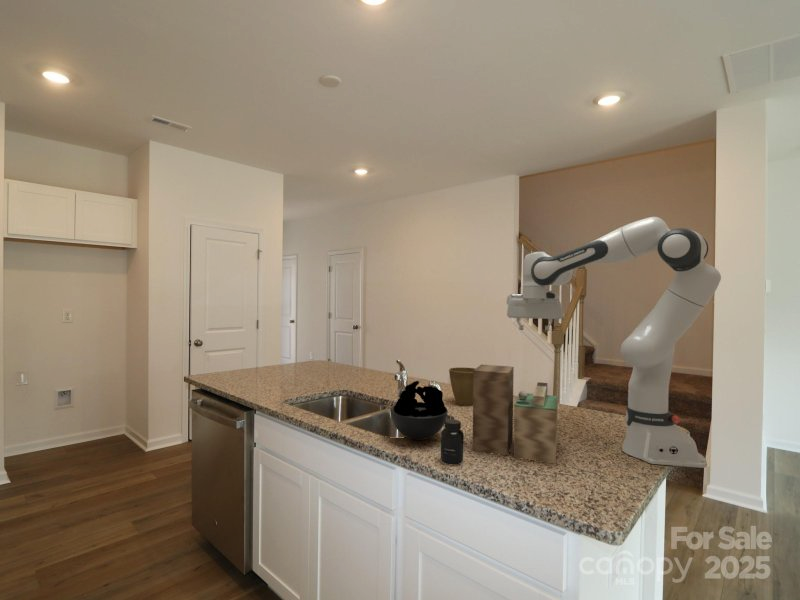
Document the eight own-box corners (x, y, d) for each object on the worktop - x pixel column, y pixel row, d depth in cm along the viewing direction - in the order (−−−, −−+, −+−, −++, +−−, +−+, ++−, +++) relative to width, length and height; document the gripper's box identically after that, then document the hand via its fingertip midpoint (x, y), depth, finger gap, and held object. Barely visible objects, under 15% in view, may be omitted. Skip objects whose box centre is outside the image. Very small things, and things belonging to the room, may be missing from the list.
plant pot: (483, 408, 185) (484, 372, 185) (450, 407, 185) (450, 372, 185) (478, 400, 200) (478, 367, 200) (447, 399, 200) (447, 366, 200)
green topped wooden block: (556, 444, 140) (557, 387, 140) (555, 464, 123) (556, 399, 123) (520, 439, 145) (520, 384, 144) (513, 457, 128) (514, 395, 128)
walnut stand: (512, 442, 141) (513, 366, 141) (507, 456, 129) (508, 373, 129) (480, 438, 145) (481, 364, 145) (472, 451, 133) (473, 370, 133)
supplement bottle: (445, 466, 121) (445, 425, 121) (437, 457, 127) (437, 418, 127) (467, 464, 123) (467, 423, 123) (457, 455, 129) (458, 417, 129)
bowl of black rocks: (439, 451, 132) (440, 393, 132) (381, 444, 139) (382, 388, 139) (452, 432, 151) (453, 381, 151) (400, 426, 158) (401, 377, 158)
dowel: (547, 392, 146) (547, 383, 146) (543, 407, 125) (543, 396, 125) (537, 391, 147) (537, 382, 147) (532, 406, 127) (532, 395, 127)
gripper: (505, 294, 160) (505, 329, 160) (562, 294, 152) (562, 332, 152) (507, 294, 166) (507, 328, 166) (562, 294, 158) (562, 330, 158)
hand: (534, 330), depth 159 cm, fingers open, 8 cm apart
